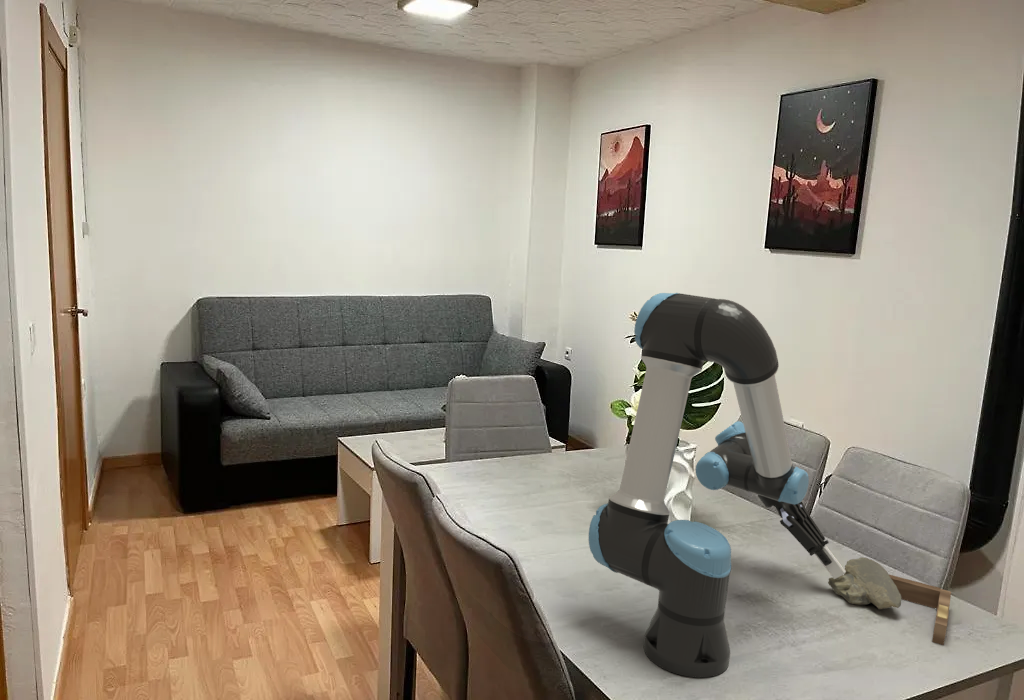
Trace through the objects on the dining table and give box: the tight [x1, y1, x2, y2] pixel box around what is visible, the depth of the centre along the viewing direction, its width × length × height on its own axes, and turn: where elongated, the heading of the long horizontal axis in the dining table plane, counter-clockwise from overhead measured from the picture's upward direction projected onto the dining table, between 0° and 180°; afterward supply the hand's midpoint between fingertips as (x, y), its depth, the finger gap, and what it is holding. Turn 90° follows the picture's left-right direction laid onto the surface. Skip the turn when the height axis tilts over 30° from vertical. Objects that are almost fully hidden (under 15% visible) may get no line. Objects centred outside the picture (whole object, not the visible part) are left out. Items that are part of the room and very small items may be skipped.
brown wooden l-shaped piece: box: [889, 574, 952, 646], centre depth 161 cm, size 18×19×4 cm
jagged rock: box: [827, 557, 903, 611], centre depth 164 cm, size 14×10×10 cm
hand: (840, 575), depth 167 cm, fingers closed
